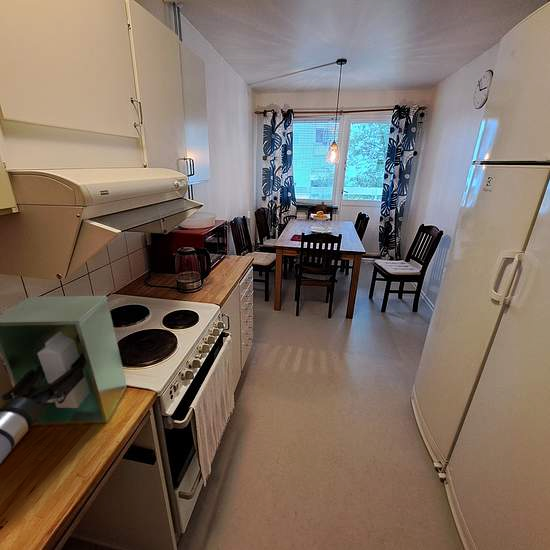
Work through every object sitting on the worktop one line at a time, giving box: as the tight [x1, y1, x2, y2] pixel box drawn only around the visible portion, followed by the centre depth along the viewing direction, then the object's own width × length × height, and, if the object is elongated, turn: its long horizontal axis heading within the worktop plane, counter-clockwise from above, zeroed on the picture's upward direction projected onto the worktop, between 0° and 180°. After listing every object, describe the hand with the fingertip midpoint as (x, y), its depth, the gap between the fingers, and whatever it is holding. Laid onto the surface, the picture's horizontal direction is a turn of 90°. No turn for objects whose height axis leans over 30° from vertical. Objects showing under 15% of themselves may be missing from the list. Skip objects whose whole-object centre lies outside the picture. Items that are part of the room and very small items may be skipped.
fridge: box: [0, 295, 128, 427], centre depth 82 cm, size 14×21×34 cm, turn 94°
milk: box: [37, 331, 90, 408], centre depth 79 cm, size 6×6×22 cm
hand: (74, 355), depth 84 cm, fingers closed on milk, 6 cm apart
